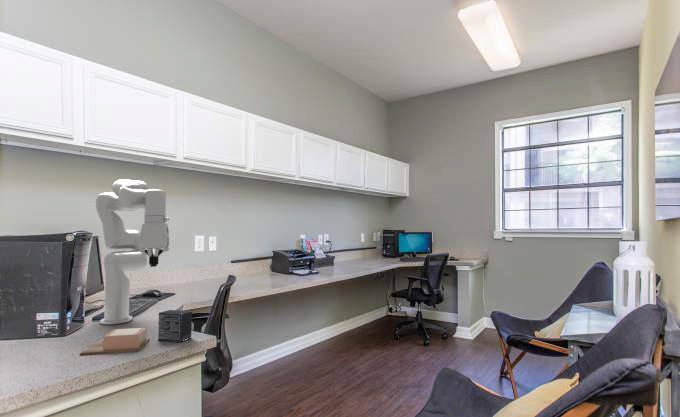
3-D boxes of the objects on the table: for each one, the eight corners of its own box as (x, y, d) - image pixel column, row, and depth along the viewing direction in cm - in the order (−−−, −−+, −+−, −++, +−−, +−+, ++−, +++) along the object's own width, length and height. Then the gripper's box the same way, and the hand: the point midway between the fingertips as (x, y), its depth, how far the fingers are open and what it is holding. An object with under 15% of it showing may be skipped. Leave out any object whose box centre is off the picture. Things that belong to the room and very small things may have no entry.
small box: (192, 338, 140) (193, 310, 141) (180, 343, 134) (181, 314, 135) (169, 335, 143) (170, 308, 144) (157, 340, 137) (157, 312, 138)
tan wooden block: (113, 329, 133) (146, 327, 136) (113, 341, 133) (146, 339, 135) (103, 336, 124) (138, 334, 127) (103, 349, 124) (138, 347, 126)
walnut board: (95, 344, 133) (95, 341, 133) (149, 340, 137) (149, 338, 137) (79, 355, 121) (80, 352, 121) (139, 351, 125) (139, 348, 125)
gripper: (176, 220, 151) (175, 265, 150) (137, 220, 148) (136, 266, 147) (172, 220, 144) (171, 267, 143) (131, 220, 141) (129, 267, 140)
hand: (153, 266), depth 145 cm, fingers closed
